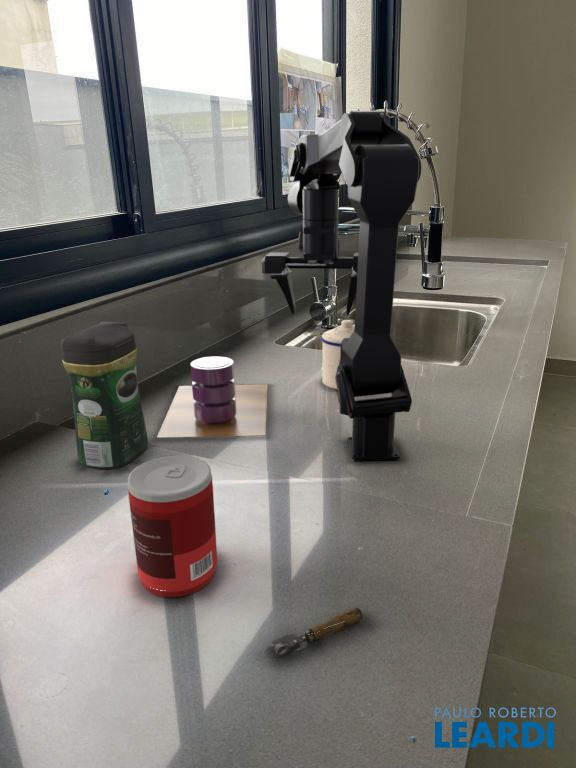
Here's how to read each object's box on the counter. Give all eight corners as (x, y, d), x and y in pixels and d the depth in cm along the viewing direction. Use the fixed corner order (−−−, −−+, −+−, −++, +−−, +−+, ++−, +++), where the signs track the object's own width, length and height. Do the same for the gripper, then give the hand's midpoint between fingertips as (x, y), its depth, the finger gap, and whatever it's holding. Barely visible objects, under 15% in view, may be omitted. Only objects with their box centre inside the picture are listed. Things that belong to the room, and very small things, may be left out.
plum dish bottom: (235, 425, 92) (234, 407, 91) (191, 426, 92) (190, 408, 91) (237, 409, 98) (237, 391, 97) (197, 410, 98) (195, 392, 97)
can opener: (356, 614, 53) (356, 604, 53) (370, 632, 51) (370, 621, 51) (261, 647, 50) (261, 635, 50) (272, 667, 48) (272, 655, 48)
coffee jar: (110, 438, 89) (94, 315, 83) (156, 445, 87) (144, 319, 81) (67, 468, 81) (46, 333, 74) (118, 476, 78) (100, 338, 72)
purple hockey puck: (233, 388, 90) (232, 368, 89) (188, 389, 90) (187, 369, 89) (236, 373, 96) (235, 355, 95) (194, 374, 96) (193, 356, 95)
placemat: (265, 437, 89) (265, 435, 89) (156, 440, 89) (156, 437, 88) (267, 386, 109) (267, 384, 109) (179, 388, 109) (179, 385, 109)
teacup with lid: (359, 395, 104) (361, 329, 100) (312, 387, 109) (312, 324, 105) (383, 374, 114) (386, 314, 110) (339, 368, 118) (340, 309, 114)
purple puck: (234, 407, 91) (233, 388, 90) (190, 408, 91) (188, 389, 90) (237, 391, 97) (236, 373, 96) (195, 392, 97) (194, 374, 96)
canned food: (220, 547, 63) (214, 453, 60) (214, 598, 56) (207, 494, 52) (147, 549, 63) (136, 455, 59) (131, 601, 56) (118, 497, 52)
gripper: (379, 215, 103) (377, 305, 108) (272, 216, 106) (274, 304, 111) (379, 220, 93) (376, 319, 98) (259, 221, 95) (263, 317, 101)
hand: (320, 314), depth 102 cm, fingers open, 9 cm apart
